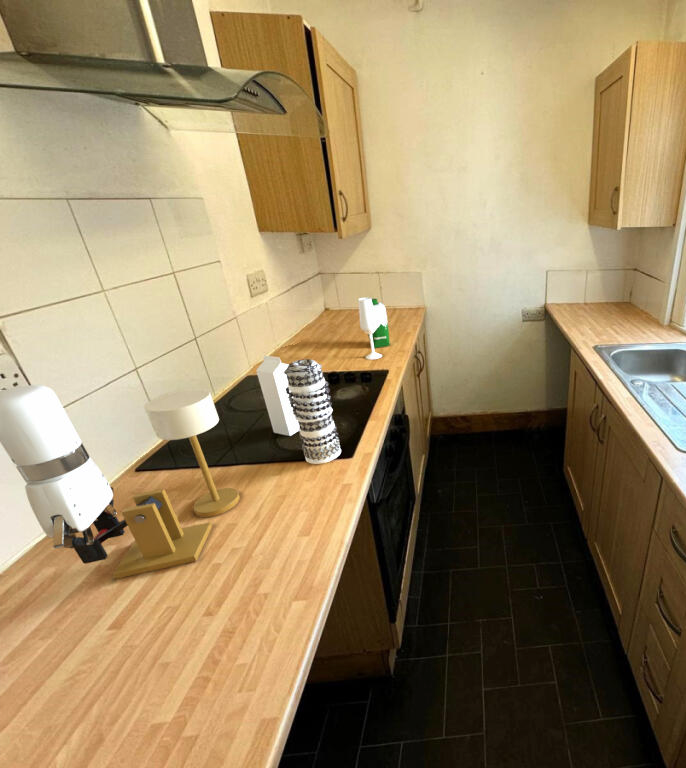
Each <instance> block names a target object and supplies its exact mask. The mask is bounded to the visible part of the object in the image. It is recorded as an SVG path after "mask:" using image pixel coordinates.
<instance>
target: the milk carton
mask: <svg viewBox="0 0 686 768" xmlns="http://www.w3.org/2000/svg"><path fill="white" fill-rule="evenodd" d="M371 300H372V304H373V308H374V312H375V316H376V320H377V324H378V327H377V329H376V330H375V332H374V333H373V334H372V338H373V344H374V349H377V348H385V347H390V331H389V323H388V315H387V309H386V306H385V304H384V303H383V302H378V299H377V298H371ZM367 336H368V340H369V341H370V338H369V334H367Z"/></svg>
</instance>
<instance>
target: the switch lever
mask: <svg viewBox="0 0 686 768" xmlns="http://www.w3.org/2000/svg"><path fill="white" fill-rule="evenodd" d="M153 503H155V505H156V507H157V509H158V510H159V509H160V507H161V506H162V503H161V502H159V501H158V500H156V499H155V498H153V497H152V496H150V497H149V498H147V499H146V500H144V501H143V502H141V503H140V504H138V505H137V506H142V505H147V504H153ZM119 522H120V523H118V524H117V525H115V526H114V527H112V528H110V529H109V530H108V529H101V530H100V531H99V532H98V531H97V533H96V535H95V536H93V537H94V540H97V539H98V540H99V541H100V543H101V545H103V543H104V542H105V541H107V540H108V539H111V538H110V537H111V536H113V535H114V534H116V533H117V532H119V531H121V530H122V529H124V530H125V528H126V527H128V525H127V523H126V521H125V519H124V518H123V520H121V521H119Z"/></svg>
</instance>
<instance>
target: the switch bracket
mask: <svg viewBox="0 0 686 768" xmlns="http://www.w3.org/2000/svg"><path fill="white" fill-rule="evenodd" d="M150 496H152V497H153V498H155V499H156V500H158V501H159V502H161V503H162V506H161V507H160V509H159V510H158V509H157V507H156V505H155V503H153V504H147V505H142V506H137V505H138V504H140V503H141V502H143V501H144V500H146V499H147V498H149V497H150ZM132 500H133V501H134V503H135V505H136V506H131V507H125V508H123V509H122V510H121V515H122V517H123V520H124V519H125V521H126V523H127V525H128V526H127V527H128V528H129V529H128V530H129V531H130V533H131V535H132V537H133V539H134V542H133V543H132V544H131V546H130V548H129V549H128V551H127V552H126V554H125V555H124V556H123V558H122V559H121V561H120V563H119V564H118V565H117V567H116V568H115V570H114V572H113V573H112V575H113V577H114V579H115V580H116V579H121V578H125V577H130V576H135V575H140V574H144V573H149V572H152V571H157V570H162V569H165V568H170V567H175V566H180V565H184V564H188V563H193V562H196V561H197V560H198V558H199V556H200V555H201V552H202V550H203V547H204V546H205V543H206V542H207V539H208V537H209V534H210V533H211V530H212V528H213V526H212V523H211V522H206V523H201V524H196V525H191V526H186V527H181V524H180V522H179V520H178V517H177V515H176V512H175V510H174V508H173V505H172V504H171V503H172V502H171V500H170V499H169V496H168V494H167V492H166V490H165V488H162V489H156V490H152V491H151V490H150V491H146V492H140V493H134V495H133V496H132Z"/></svg>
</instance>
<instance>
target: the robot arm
mask: <svg viewBox="0 0 686 768" xmlns="http://www.w3.org/2000/svg"><path fill="white" fill-rule="evenodd" d="M0 444H1V445H2V447H3V449H4V450H5V452H6V454H7V455H8V457H9V458H10V460H11V462H12V463H13V465H14V466H15V468H16V469H17V471H18V472H19V474H20V476H21V477H22V479H23V480H24V482H25V483H26V485H24V489H25V494H26V497H27V500H28V503H29V505H30V508H31V510H32V512H33V514H34V516H35V519H36V520H37V522H38V524H39V525H40V527H41V529H42V531H43V532H44V534H45V535H46V536H47V537H48V538H49V539H53V541H52V544H53V546H52V547H53V549H64V548H65V549H71V550H73V549H74V551H75V553H76V554H77V556H78V557H79V559H80V561H81V562H82V563H83V564H90V563H96V562H100V561H103V560H106V559H107V558H108V556H109V555H108V553H107V551H106V549H105V548H104V546H103V544H101V543H100V541H99V540H98V539H97V540H94V537H95V536H94V534H93V529H92V527H91V526H92V524H93V525H94V527H95V529H96V530H97V533H98V532H99V531H100V530H101V529H108V530H109V529H110V528H112V527H114V526H115V525H117V524H118V523H120V522H121V521H119V519H118V517H117V516H116V515H117V509H116V508H115V507H114V502H115V501H114V499H113V498H114V491H115V488H114V487H112V486H111V485H110V484H109V482H108V480H107V478H106V476H105V475H104V473H103V472H102V471H101V469H100V467H99V466H98V465H97V464H96V462H95V460H93V459H92V457H91V456H90V454H89V452H88V451H87V449H86V447H85V445H84V443H83V441H82V439H81V438H80V435H79V434H78V432H77V431H76V429H75V426H74V425H73V423H72V421H71V420H70V418H69V415H68V414H67V412H66V409H65V408H64V407H63V405H62V403H61V401H60V399H59V398H58V395H57V394H56V392H55V391H54V390H53V389H52V388H51V387H48V386H47V385H41V384H31V385H22V386H18V387H13V388H9V389H0ZM78 533H82V536H83V537H79V536H78V537H77V535H76V534H78ZM125 533H126V531H125V528H124V529H122V530H121V531H119V532H117V533H116V534H114V535H113V536H111V537H110V538H109V539H113V538H118V537H122V536H124V534H125Z"/></svg>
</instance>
